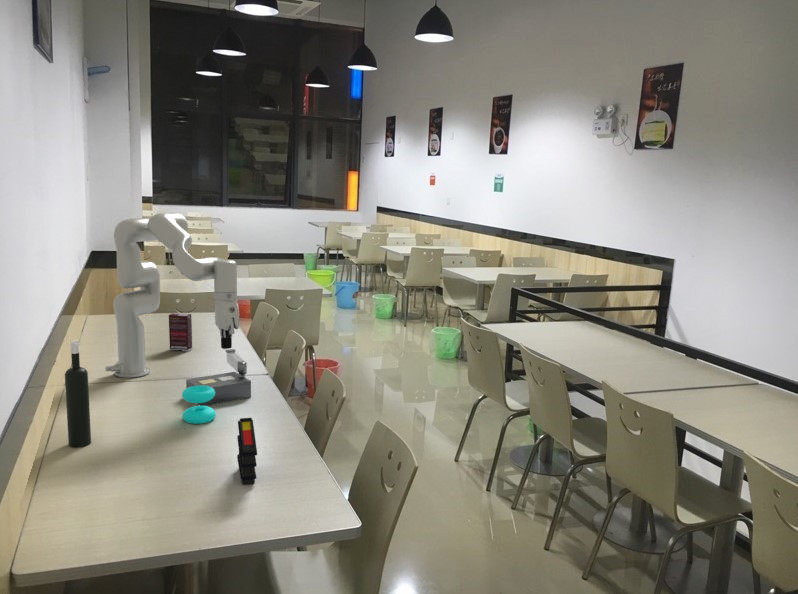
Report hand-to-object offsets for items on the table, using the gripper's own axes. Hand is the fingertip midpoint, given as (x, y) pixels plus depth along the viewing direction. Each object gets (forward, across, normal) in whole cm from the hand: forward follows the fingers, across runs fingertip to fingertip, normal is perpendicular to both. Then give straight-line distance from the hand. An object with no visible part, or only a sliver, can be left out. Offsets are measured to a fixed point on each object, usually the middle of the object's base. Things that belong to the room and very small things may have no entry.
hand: (226, 348), depth 231 cm
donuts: (+17, -17, +17) cm, 30 cm away
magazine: (+17, -63, +23) cm, 69 cm away
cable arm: (+10, +8, -7) cm, 15 cm away
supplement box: (+17, +67, -9) cm, 70 cm away
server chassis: (+17, 0, +2) cm, 17 cm away
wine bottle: (+17, -17, +52) cm, 57 cm away
